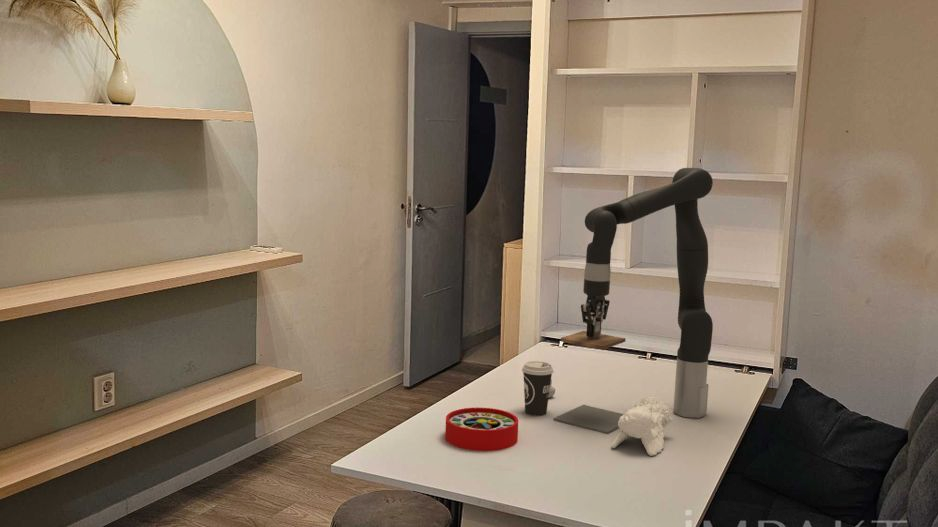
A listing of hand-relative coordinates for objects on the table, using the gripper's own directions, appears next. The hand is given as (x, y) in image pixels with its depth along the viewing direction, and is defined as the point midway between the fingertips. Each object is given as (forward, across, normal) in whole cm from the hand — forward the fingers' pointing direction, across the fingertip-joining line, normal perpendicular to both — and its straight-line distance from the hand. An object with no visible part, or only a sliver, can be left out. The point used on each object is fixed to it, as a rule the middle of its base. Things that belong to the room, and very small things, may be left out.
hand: (593, 335), depth 256 cm
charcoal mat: (+25, +1, -2) cm, 26 cm away
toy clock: (+26, -35, +14) cm, 46 cm away
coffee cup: (+26, -5, +15) cm, 30 cm away
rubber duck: (+26, +11, +21) cm, 35 cm away
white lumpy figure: (+26, -9, -22) cm, 35 cm away
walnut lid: (+2, 0, 0) cm, 2 cm away
